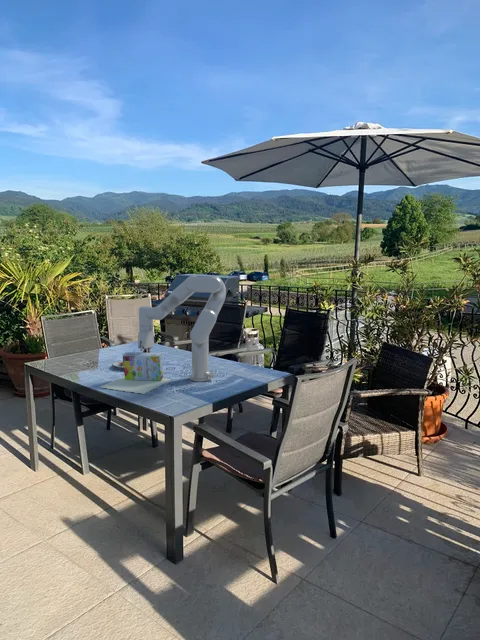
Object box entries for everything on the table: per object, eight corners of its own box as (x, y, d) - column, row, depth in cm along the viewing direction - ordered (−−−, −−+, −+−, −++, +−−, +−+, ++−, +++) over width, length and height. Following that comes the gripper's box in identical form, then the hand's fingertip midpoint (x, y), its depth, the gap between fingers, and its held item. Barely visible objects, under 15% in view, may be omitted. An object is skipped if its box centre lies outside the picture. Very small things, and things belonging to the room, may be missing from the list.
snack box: (163, 377, 243) (162, 352, 238) (161, 381, 237) (159, 356, 233) (127, 375, 245) (125, 351, 240) (124, 380, 240) (121, 355, 235)
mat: (171, 380, 242) (171, 379, 242) (143, 394, 217) (143, 393, 217) (130, 374, 252) (130, 373, 252) (99, 388, 227) (99, 386, 227)
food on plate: (104, 369, 265) (103, 359, 264) (128, 360, 288) (128, 351, 287) (138, 373, 256) (138, 363, 255) (161, 364, 278) (160, 354, 277)
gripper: (148, 325, 248) (148, 356, 251) (132, 329, 235) (133, 362, 237) (159, 326, 245) (159, 357, 248) (143, 330, 232) (144, 363, 235)
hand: (146, 359), depth 243 cm, fingers closed
